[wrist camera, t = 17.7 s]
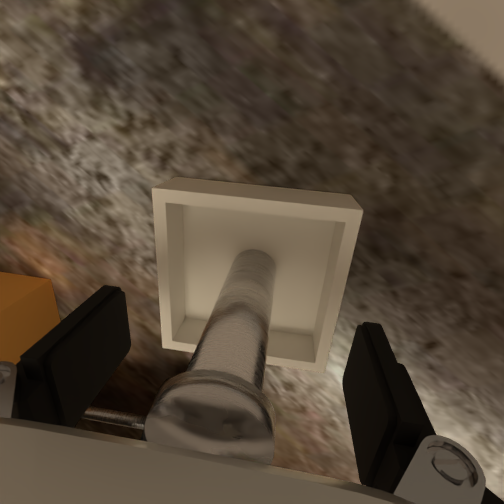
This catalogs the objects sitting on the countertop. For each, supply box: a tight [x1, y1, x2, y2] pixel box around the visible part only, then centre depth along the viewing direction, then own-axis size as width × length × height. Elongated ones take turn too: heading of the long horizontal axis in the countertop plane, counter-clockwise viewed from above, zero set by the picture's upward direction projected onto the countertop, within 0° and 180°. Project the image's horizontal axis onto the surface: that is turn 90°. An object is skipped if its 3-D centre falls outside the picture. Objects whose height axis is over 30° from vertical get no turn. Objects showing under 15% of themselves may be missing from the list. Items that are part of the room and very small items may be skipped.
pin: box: [145, 249, 276, 465], centre depth 12 cm, size 3×3×10 cm
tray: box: [152, 177, 364, 373], centre depth 16 cm, size 9×9×3 cm
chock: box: [0, 272, 61, 365], centre depth 19 cm, size 4×5×5 cm
